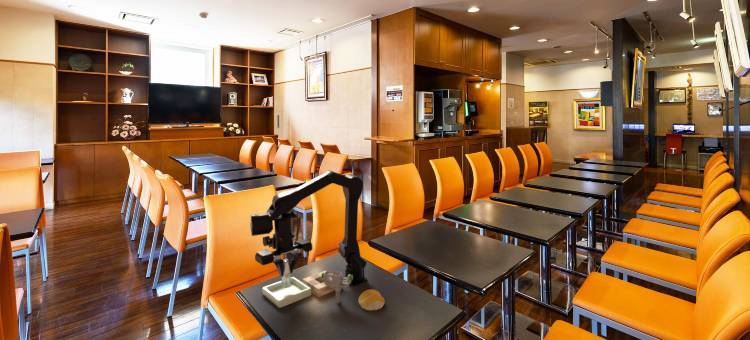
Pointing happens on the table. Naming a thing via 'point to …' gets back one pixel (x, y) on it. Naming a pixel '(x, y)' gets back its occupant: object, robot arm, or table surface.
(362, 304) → the bread roll
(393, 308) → the table surface
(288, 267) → the pin
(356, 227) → the robot arm
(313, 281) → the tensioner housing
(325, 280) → the mechanical component
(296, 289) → the parts tray
